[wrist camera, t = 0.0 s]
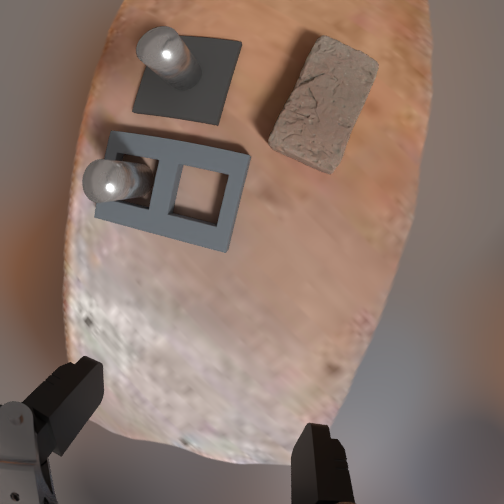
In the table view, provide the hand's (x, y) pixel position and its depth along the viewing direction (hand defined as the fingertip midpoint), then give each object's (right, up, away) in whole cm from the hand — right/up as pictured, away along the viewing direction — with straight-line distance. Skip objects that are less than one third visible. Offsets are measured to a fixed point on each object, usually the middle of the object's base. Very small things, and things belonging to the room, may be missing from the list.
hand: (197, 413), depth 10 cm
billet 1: (-13, +15, +28) cm, 34 cm away
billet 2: (-7, +29, +23) cm, 37 cm away
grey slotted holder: (-9, +14, +28) cm, 32 cm away
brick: (+11, +24, +24) cm, 36 cm away
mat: (-7, +29, +24) cm, 38 cm away
